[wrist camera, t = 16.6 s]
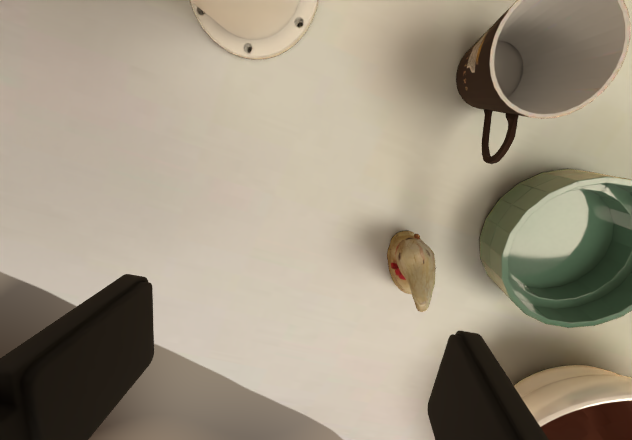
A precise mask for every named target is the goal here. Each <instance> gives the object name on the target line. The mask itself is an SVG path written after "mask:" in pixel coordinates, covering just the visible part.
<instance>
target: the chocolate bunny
mask: <svg viewBox="0 0 632 440" xmlns="http://www.w3.org/2000/svg"><path fill="white" fill-rule="evenodd" d="M387 259H388V265H389V271H390V274H391V277H392V279H393V281H394V283H395V284H396V286H397V287H398V288H399V289H400V290H401V291H403V292H405V293H408V294H412V296H413V299H414V301H415V305H416V308H417V309H418V311H420V312H423V311H426V310H427V308H428V307H429V304H430V300H431V297H432V291H433V288H434V284H435V269H436V268H435V258H434V253H433V251H432V250H431V249H430V248H429V247H428V246H427V245H426V244H425V243H423V241H422V240H421V239H420V236H419V235H418V234H414V233H413V232H410V231H402V232H398V233H396V235H395V236H394V237H393V238H392V239H391V243H390V246H389V248H388V252H387Z"/></svg>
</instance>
